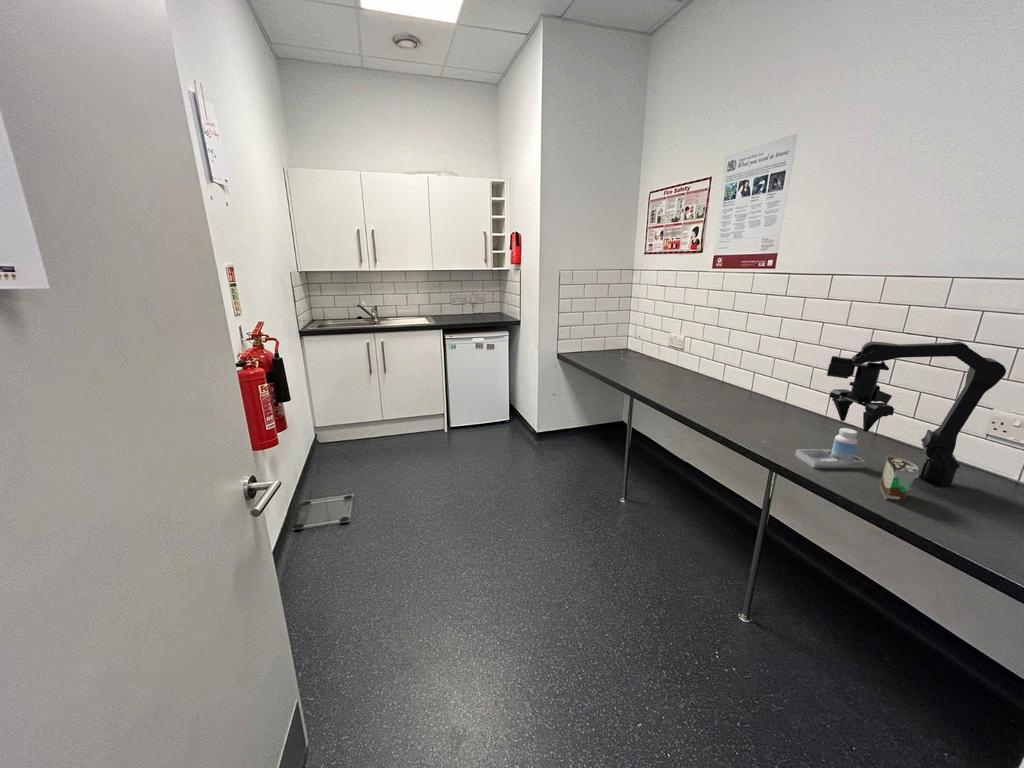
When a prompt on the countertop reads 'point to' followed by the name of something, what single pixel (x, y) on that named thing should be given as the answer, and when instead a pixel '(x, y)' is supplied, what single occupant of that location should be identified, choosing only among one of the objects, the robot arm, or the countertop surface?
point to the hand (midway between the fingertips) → (853, 426)
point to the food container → (897, 478)
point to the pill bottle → (845, 445)
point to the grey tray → (826, 459)
